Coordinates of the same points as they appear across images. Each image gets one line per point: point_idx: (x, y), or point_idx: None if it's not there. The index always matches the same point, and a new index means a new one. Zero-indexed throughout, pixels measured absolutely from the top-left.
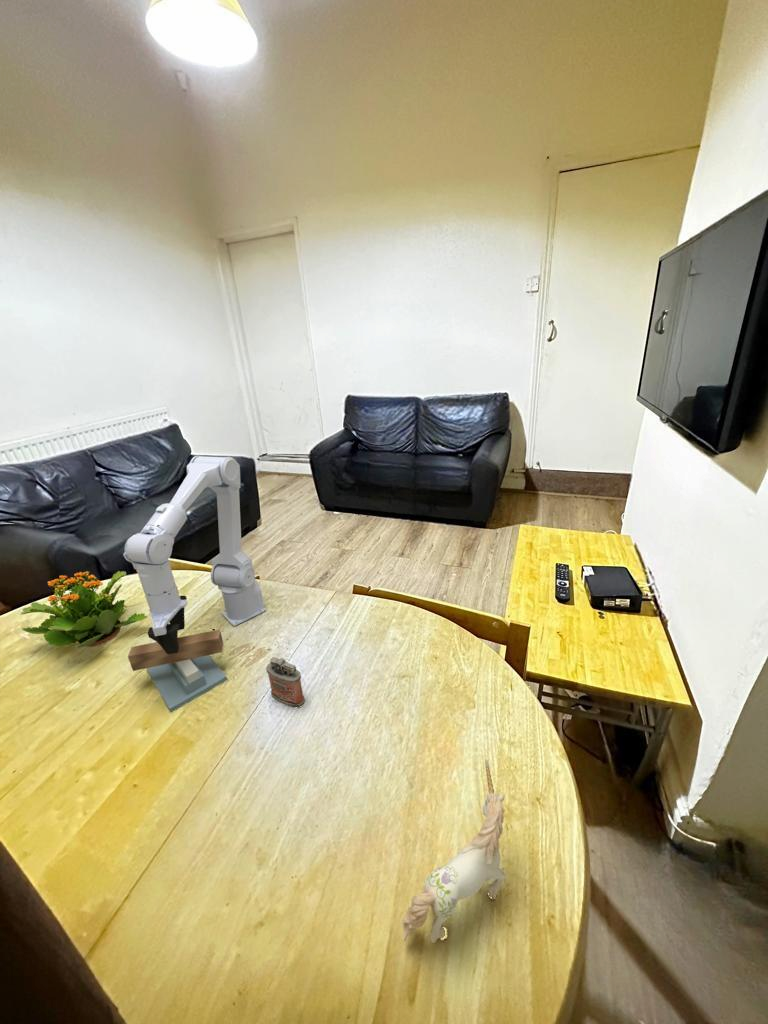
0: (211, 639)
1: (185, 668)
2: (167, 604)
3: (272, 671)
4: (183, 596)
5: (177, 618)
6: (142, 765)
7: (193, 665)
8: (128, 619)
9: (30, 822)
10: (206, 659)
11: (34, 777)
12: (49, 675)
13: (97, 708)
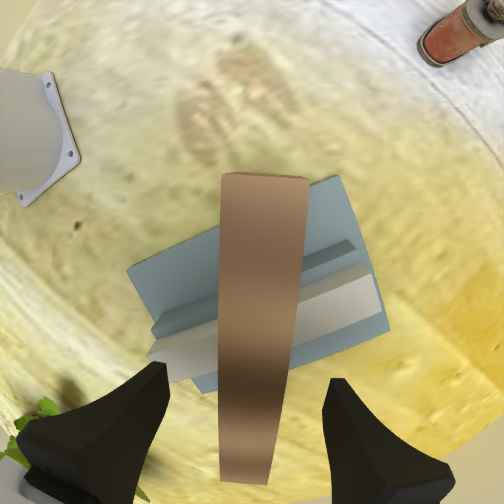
0: (305, 223)
1: (336, 319)
2: None
3: (501, 29)
4: (25, 449)
5: (141, 420)
6: (474, 348)
7: (333, 293)
8: (51, 415)
9: (453, 442)
10: None
11: None
12: (172, 487)
13: (289, 445)
